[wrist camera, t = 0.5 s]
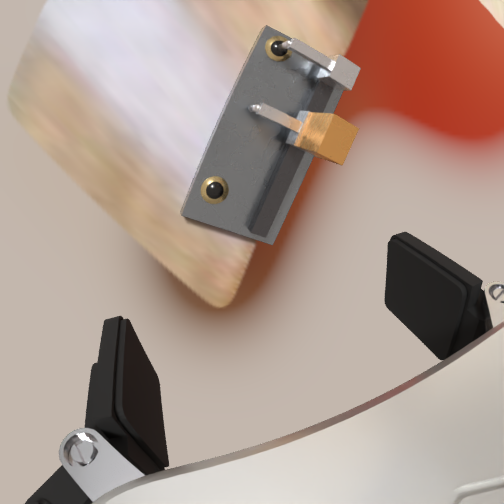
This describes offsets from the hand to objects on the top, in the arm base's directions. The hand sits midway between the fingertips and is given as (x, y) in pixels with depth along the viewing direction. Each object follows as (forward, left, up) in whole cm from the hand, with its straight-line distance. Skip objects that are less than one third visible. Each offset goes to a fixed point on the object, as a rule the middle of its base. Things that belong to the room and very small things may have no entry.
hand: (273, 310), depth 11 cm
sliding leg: (-9, +7, -26) cm, 28 cm away
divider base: (-7, +7, -28) cm, 30 cm away
